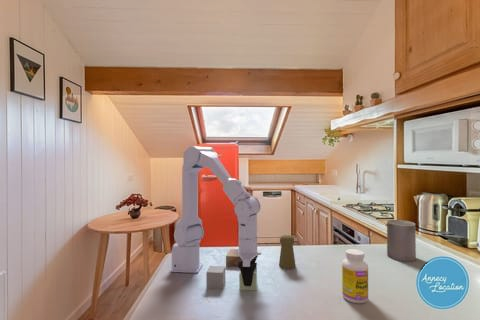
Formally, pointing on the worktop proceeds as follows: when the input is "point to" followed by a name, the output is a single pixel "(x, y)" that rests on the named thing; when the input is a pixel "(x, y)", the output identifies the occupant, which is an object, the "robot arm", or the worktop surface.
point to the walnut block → (233, 258)
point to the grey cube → (215, 277)
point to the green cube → (254, 282)
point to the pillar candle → (401, 240)
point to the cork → (287, 252)
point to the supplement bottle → (355, 277)
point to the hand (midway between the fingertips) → (248, 281)
